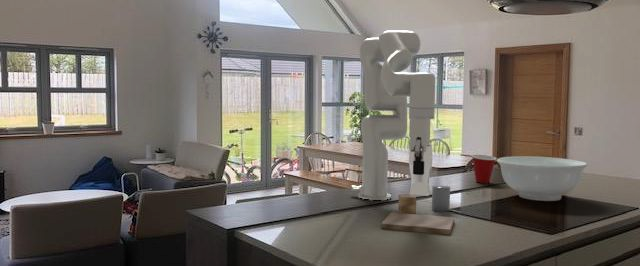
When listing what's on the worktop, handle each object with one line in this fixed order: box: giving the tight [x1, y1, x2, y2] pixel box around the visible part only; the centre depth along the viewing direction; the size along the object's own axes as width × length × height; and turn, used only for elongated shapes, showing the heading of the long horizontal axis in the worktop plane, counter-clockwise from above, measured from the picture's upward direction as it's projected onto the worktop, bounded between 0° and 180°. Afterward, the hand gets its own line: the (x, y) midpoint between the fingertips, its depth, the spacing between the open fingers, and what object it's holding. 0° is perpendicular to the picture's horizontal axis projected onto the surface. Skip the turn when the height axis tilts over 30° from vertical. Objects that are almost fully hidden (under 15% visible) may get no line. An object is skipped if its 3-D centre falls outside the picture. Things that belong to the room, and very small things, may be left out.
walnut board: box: [380, 212, 455, 235], centre depth 172 cm, size 20×16×2 cm
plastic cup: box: [471, 154, 498, 184], centre depth 252 cm, size 11×11×12 cm
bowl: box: [496, 155, 588, 202], centre depth 218 cm, size 32×32×15 cm
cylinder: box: [431, 184, 451, 213], centre depth 194 cm, size 6×6×8 cm
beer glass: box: [408, 144, 433, 197], centre depth 170 cm, size 7×7×15 cm
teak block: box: [397, 193, 417, 214], centre depth 188 cm, size 5×5×6 cm
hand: (420, 172), depth 170 cm, fingers closed on beer glass, 6 cm apart
